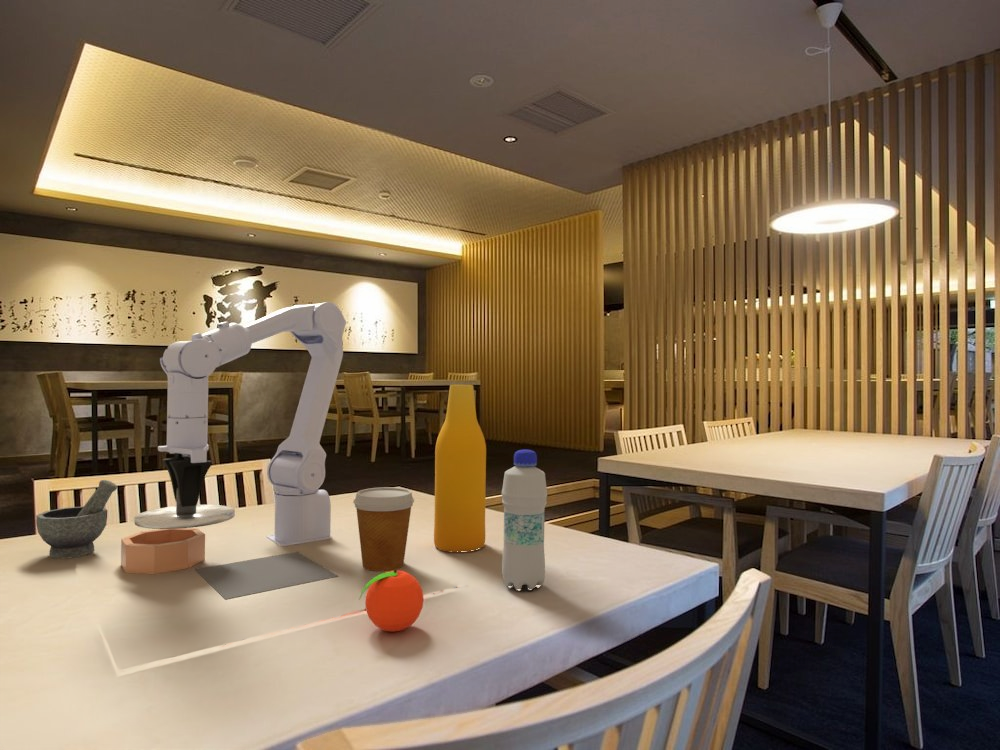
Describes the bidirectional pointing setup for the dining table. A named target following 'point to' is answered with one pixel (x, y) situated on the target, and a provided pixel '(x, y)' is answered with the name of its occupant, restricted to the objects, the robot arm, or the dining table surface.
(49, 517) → the mortar and pestle
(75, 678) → the dining table surface
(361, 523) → the disposable coffee cup
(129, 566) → the terracotta bowl
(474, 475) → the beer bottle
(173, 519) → the steel lid
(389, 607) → the clementine
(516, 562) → the bottle
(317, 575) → the rubber mat
